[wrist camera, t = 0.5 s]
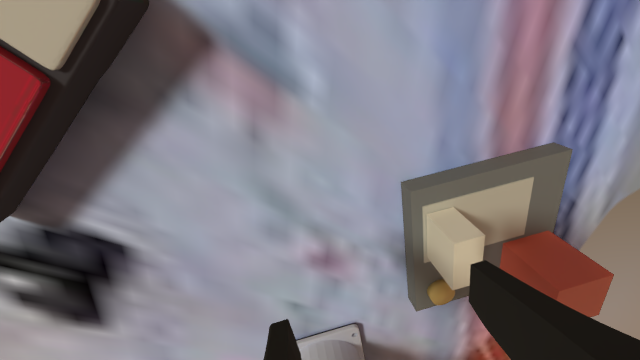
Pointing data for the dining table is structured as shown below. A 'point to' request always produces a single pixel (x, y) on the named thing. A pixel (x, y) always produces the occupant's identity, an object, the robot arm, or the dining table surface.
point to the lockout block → (557, 271)
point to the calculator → (51, 77)
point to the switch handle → (453, 246)
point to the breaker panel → (482, 210)
